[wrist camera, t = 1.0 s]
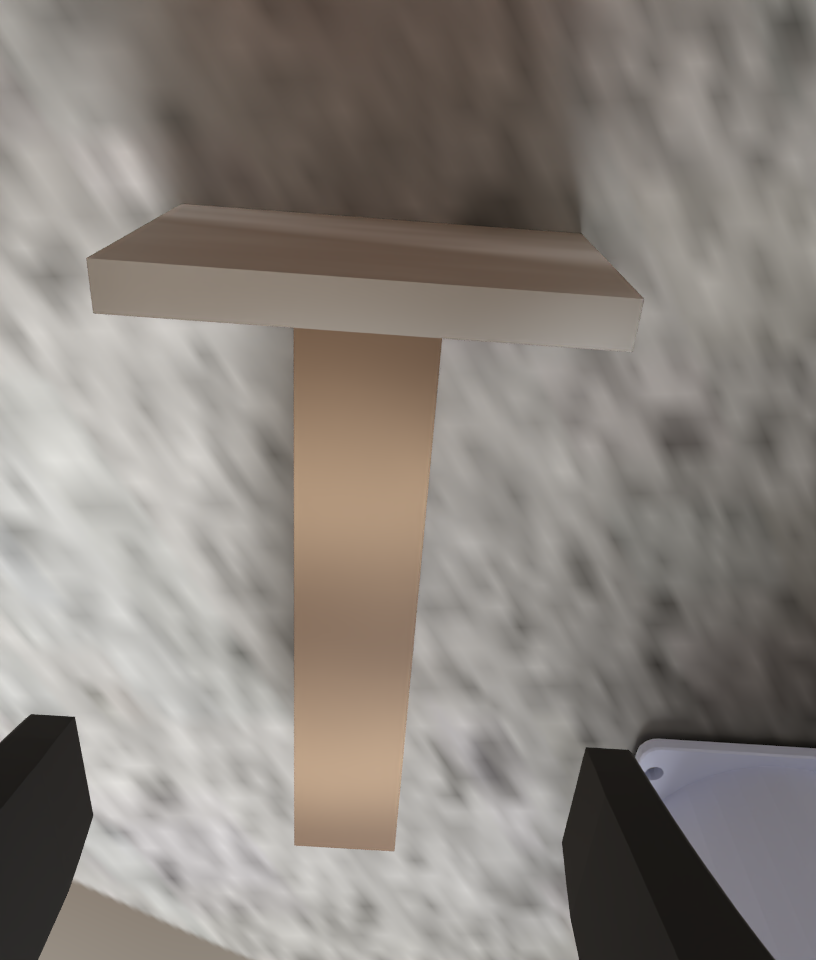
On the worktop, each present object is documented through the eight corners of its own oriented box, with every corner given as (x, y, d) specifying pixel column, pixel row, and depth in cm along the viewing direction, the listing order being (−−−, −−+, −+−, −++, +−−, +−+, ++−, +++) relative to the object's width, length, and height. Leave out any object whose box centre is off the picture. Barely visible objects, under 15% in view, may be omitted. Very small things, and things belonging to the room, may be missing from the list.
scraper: (496, 731, 22) (514, 897, 18) (216, 714, 22) (164, 877, 18) (581, 233, 15) (644, 298, 11) (182, 202, 15) (85, 258, 11)
